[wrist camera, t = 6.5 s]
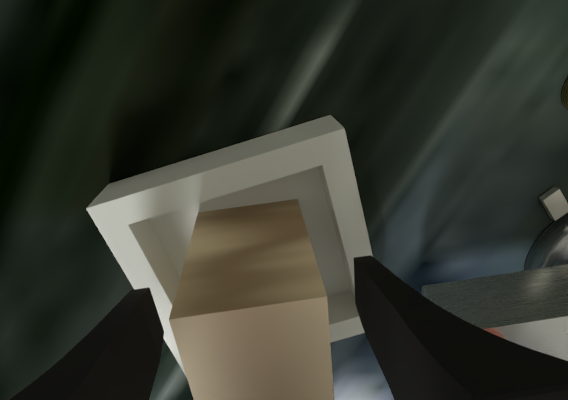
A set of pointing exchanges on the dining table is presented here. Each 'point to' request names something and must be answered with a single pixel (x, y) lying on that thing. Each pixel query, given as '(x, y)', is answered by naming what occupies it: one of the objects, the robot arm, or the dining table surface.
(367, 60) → the dining table surface
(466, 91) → the dining table surface
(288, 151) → the tray
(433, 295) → the crank
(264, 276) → the block
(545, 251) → the crank base
